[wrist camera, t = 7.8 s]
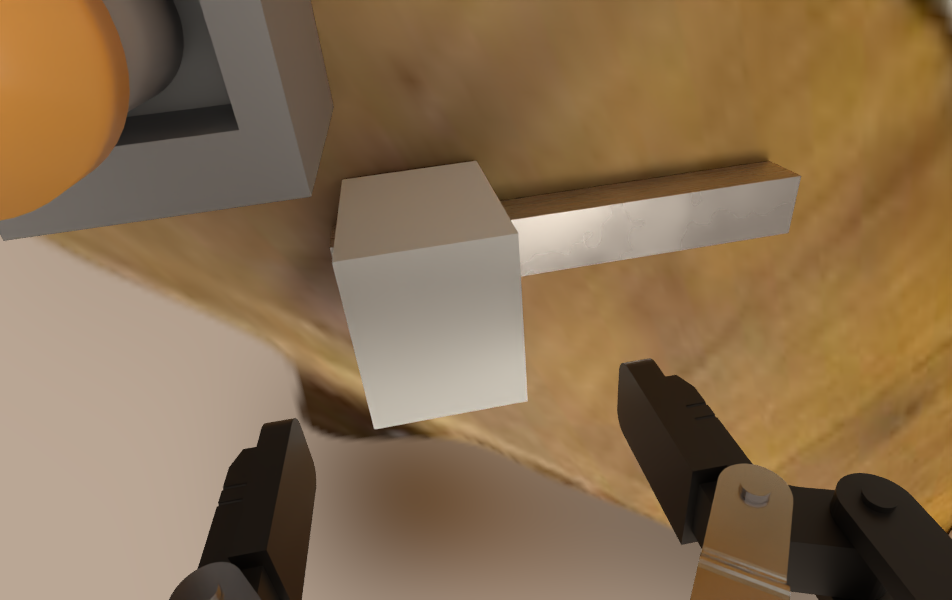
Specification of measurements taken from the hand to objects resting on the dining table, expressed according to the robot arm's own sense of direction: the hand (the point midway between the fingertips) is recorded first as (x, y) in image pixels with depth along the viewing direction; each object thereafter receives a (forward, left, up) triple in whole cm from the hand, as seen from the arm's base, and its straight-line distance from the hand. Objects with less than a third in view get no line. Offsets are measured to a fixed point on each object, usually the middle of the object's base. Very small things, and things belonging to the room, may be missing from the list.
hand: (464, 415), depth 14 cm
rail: (-6, 0, -10) cm, 11 cm away
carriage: (0, 0, -10) cm, 10 cm away
